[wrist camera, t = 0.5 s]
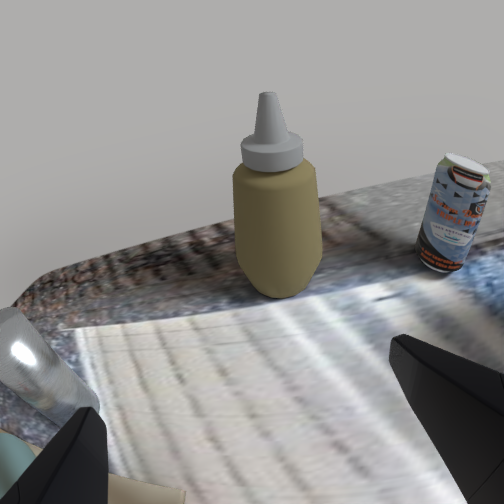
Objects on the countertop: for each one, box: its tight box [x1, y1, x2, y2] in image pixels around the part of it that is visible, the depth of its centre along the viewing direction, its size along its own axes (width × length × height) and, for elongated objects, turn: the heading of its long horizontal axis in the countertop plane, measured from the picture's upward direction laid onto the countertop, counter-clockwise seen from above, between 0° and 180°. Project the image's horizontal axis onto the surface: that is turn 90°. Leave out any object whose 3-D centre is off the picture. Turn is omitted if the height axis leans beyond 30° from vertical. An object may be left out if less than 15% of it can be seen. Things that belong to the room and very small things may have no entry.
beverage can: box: [415, 153, 491, 272], centre depth 28 cm, size 6×7×12 cm
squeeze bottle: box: [233, 92, 322, 298], centre depth 26 cm, size 8×8×18 cm
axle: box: [0, 307, 100, 428], centre depth 19 cm, size 5×5×11 cm
